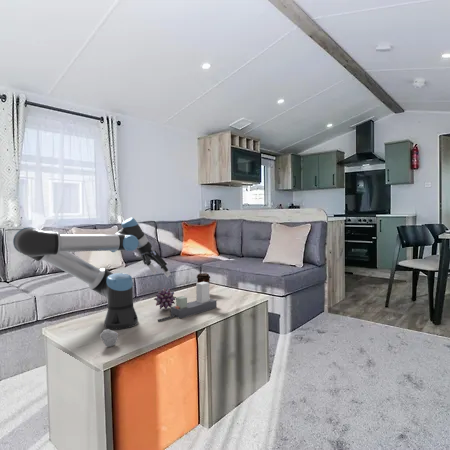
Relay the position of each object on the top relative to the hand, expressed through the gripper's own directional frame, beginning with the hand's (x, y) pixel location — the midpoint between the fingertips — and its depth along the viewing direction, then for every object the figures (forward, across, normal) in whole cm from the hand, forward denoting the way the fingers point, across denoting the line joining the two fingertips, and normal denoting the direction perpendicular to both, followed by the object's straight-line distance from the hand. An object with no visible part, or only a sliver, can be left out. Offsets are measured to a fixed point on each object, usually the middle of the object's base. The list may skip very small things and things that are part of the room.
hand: (162, 274), depth 189 cm
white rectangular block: (+19, -21, -2) cm, 29 cm away
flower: (+14, -7, +12) cm, 20 cm away
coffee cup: (+30, +1, -16) cm, 34 cm away
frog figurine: (-8, -31, +49) cm, 59 cm away
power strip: (+16, -21, +9) cm, 28 cm away
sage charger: (+11, -21, +10) cm, 25 cm away
